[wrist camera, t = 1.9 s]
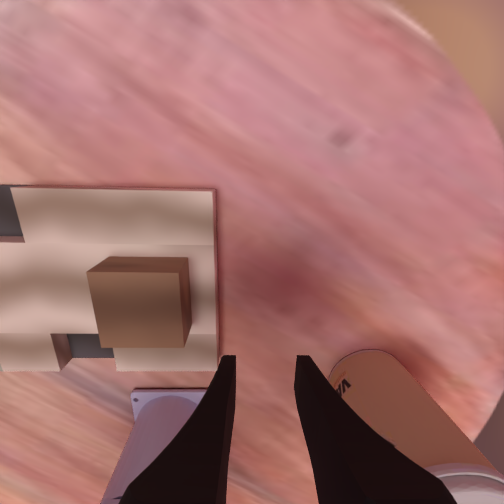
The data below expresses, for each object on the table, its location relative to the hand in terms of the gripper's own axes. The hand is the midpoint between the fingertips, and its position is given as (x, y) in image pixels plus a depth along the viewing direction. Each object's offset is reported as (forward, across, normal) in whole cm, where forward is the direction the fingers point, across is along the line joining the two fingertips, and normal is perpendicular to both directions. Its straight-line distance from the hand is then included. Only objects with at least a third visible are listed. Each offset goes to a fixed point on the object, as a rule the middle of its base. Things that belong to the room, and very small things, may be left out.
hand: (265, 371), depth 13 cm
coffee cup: (+11, -12, +11) cm, 19 cm away
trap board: (+10, +16, 0) cm, 20 cm away
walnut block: (+8, +8, 0) cm, 12 cm away
